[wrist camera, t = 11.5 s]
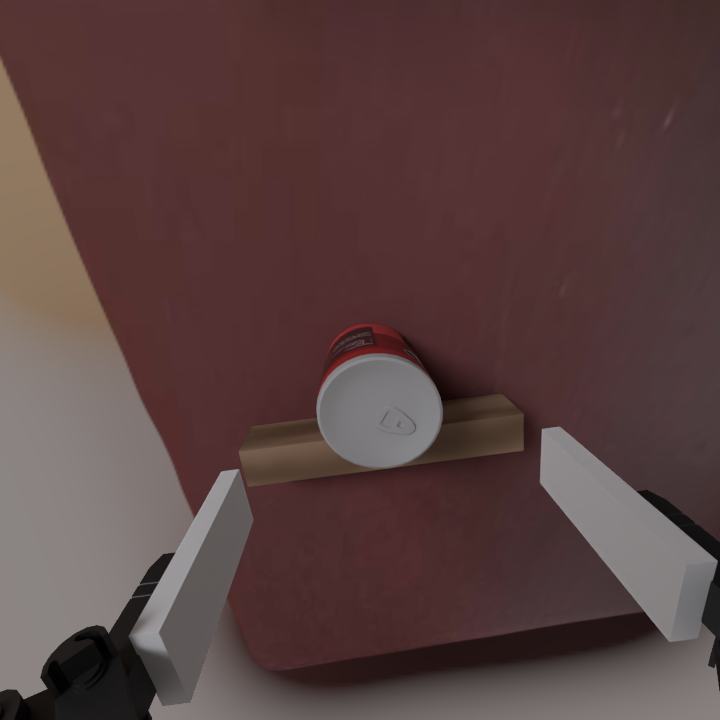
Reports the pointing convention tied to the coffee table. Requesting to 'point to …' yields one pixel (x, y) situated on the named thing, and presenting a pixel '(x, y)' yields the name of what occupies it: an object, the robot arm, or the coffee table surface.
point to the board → (317, 459)
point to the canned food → (377, 399)
